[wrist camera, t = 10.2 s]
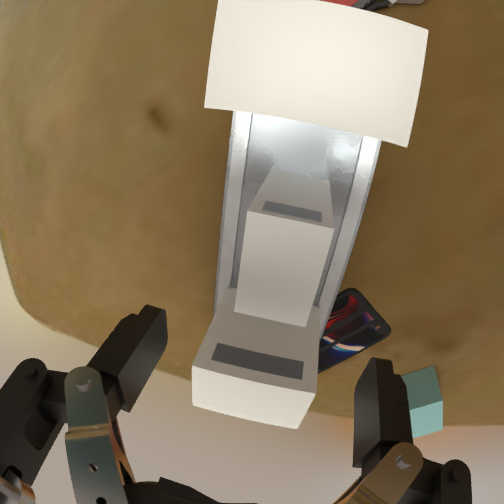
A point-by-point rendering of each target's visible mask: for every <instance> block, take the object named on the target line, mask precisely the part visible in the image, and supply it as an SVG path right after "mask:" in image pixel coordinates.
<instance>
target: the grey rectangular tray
mask: <svg viewBox="0 0 504 504" xmlns="http://www.w3.org/2000/svg"><path fill="white" fill-rule="evenodd" d="M381 141H382V140H379V139H376V138H372V137H368V136H364V135H360V134H356V133H352V132H348V131H344V130H340V129H335V128H331V127H326V126H322V125H317V124H312V123H307V122H302V121H297V120H291V119H285V118H280V117H274V116H267V115H261V114H254V113H247V112H239V111H233V119H232V127H231V136H230V144H229V153H228V162H227V171H226V180H225V190H224V200H223V210H222V220H221V231H220V241H219V253H218V264H217V276H216V289H215V302H214V315H215V313H216V310H217V308H218V306H219V304H220V302H221V299H222V297H223V295H224V293H225V290H226V288H227V289H230V288H231V287H232V288H236V289H237V286H238V278H239V270H240V262H241V255H242V247H243V240H244V232H245V225H246V217H247V211H248V209H249V207H250V205H251V204H252V202H253V200H254V198H255V197H256V195H257V193H258V191H259V189H260V188H261V186H262V184H263V182H264V181H265V179H266V177H267V176H268V174H269V172H270V170H271V169H275V170H281V171H286V172H291V173H296V174H301V175H306V176H310V177H315V178H320V179H324V180H329V185H330V193H331V201H332V210H333V219H334V233H333V236H332V240H331V244H330V247H329V251H328V254H327V258H326V261H325V265H324V268H323V272H322V275H321V279H320V282H319V285H318V289H317V292H316V295H315V298H314V302H313V305H315V306H317V308H319V309H321V310H320V336H319V342H320V340H321V337H322V334H323V332H324V329H325V326H326V324H327V321H328V318H329V316H330V313H331V310H332V307H333V305H334V302H335V299H336V296H337V293H338V291H339V288H340V285H341V282H342V279H343V276H344V273H345V270H346V267H347V264H348V261H349V258H350V254H351V251H352V248H353V245H354V242H355V238H356V235H357V232H358V228H359V225H360V222H361V218H362V215H363V211H364V208H365V204H366V200H367V197H368V193H369V189H370V186H371V182H372V178H373V174H374V170H375V166H376V162H377V158H378V154H379V150H380V145H381ZM214 315H213V317H214Z"/></svg>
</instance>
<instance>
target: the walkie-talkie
mask: <svg viewBox="0 0 504 504" xmlns="http://www.w3.org/2000/svg"><path fill="white" fill-rule="evenodd" d="M319 1H325V2H330V3H335V4H340V5H345V6H349V7H354V8H358V9H362V10H366V11H370V12H372V11H373V10H374V9H377V8H383V7H385V6H387V5H388V6H389V7H391V6H392V5H393V4H395V3H406V4H421V3H422V2H424V1H425V0H383V1H381V2H376V1H377V0H319ZM372 3H373V4H372Z"/></svg>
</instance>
